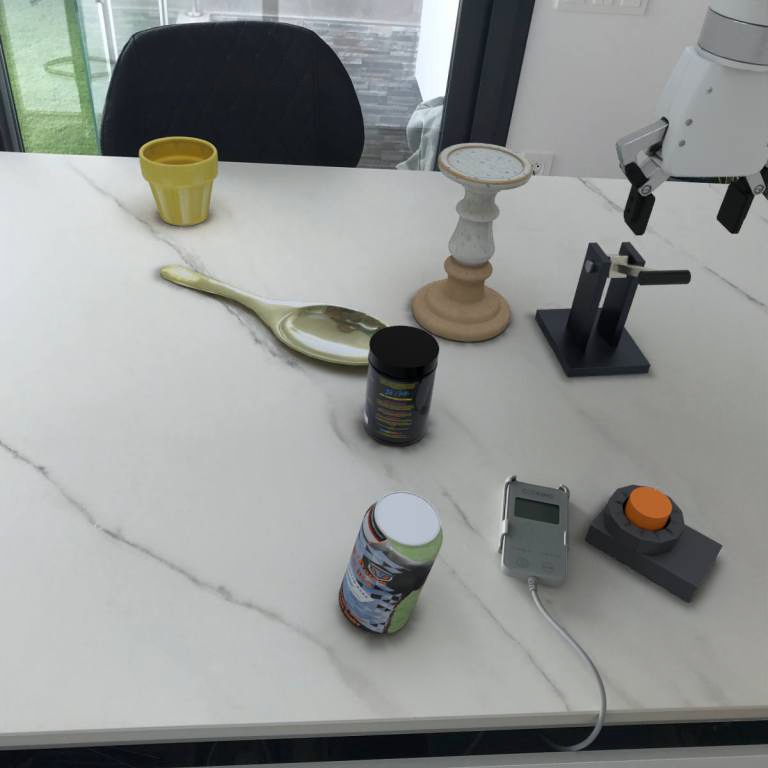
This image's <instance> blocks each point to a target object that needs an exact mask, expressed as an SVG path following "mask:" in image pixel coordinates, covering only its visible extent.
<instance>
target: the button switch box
mask: <svg viewBox="0 0 768 768" xmlns="http://www.w3.org/2000/svg"><path fill="white" fill-rule="evenodd" d="M640 487H646V486H644V485H638V484H630V485H626V486H622V487H618V488H617V489H616V490H614V492H613V493H612V494H611V496H610V497H609V498H608V500H607V503H606V504H605V505H604V507H603V508H602V509H601V511H600V512H599V513H598V514H597V516H596V517H595V518H594V519H593V520H592V522H591V523H590V525H589V527H588V529H587V533H586V535H585V537H584V541H586V542H587V543H589V544H590V545H592V546H594V547H595V548H597V549H599V550H600V551H602V552H604V553H605V554H607V555H609V556H611V557H612V558H614V559H615V560H617V561H619V562H620V563H622V564H624V565H625V566H627V567H629V568H630V569H632V570H634V571H636V573H639V574H640V575H642V576H643V577H645V578H647V579H649V580H650V581H652V582H654V583H655V584H657V585H659V586H660V587H662V588H664V589H665V590H667V591H669V592H670V593H672V594H673V595H674V596H677V597H679V598H680V599H682V600H683V601H685V602H687V603H691V601H692V599H693V598H694V596H695V594H696V593H697V592H698V589H699V588H700V586H701V584H702V583H703V581H704V580H705V578H706V576H707V574H708V572H709V571H710V570H711V568H712V566H713V564H714V563H715V562H716V559H717V557H718V555H719V554H720V552H721V550H722V548H723V544H721V543H720V542H718V541H716V540H714V539H712V538H710V537H709V536H707V535H705V534H703V533H701V532H700V531H698V530H696V529H694V528H692V527H691V526H689V525H687V524H686V523H685V518H684V512H683V511H682V509H681V508H680V507H679V506H678V505H677V504H676V502H675V501H674V500H673V499H672V498H671V497H670V496H669V495H667V494H665V493H663V494H664V495H666V496H667V497H668V499H669V500H670V502H671V505H672V511H671V513H670V515H669V518H668V520H667V522H666V524H665V526H664V527H663V528H662V529H660V530H657V531H648V530H643V529H641V528H639V527H637V526H636V525H634V524H632V523H631V522H630V521H629V520H628V518H627V517H626V514H625V507H626V504H627V502H628V499H629V497H630V494H631V493H632V491H633V490H635V489H637V488H640ZM648 487H649V488H653V489H655V488H654V487H651V486H648Z"/></svg>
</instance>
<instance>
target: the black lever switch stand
mask: <svg viewBox="0 0 768 768" xmlns="http://www.w3.org/2000/svg"><path fill="white" fill-rule="evenodd" d="M606 254H607V253H606V252H605V251H604V250H603V249H602V247H601V246H600V244H599V243H598V242H588V245H587V249H586V252H585V256H584V259H583V262H582V266H581V270H580V274H579V277H578V281H577V284H576V288H575V292H574V297H573V299H572V303H571V307H570V308H545V309H543V308H542V309H536V312H535V315H534V318H535V320H536V322H537V324H538V326H539V327H540V329H541V331H542V333H543V335H544V337H545V339H546V341H547V342H548V344H549V346H550V348H551V349H552V351H553V353H554V355H555V356H556V358H557V361H558V362H559V364H560V366H561V367H562V370H563V371H564V373H565V375H566V377H567V378H575V377H591V376H592V377H593V376H612V375H631V374H632V375H634V374H648V373H649V371H650V368H651V363H650V362H649V360H648V358H647V357H646V356H645V355H644V353H643V351H642V350H641V349H640V347H639V345H638V344H637V343H636V342H635V340H634V339H633V337H632V335H631V334H630V332H629V331H628V329H627V328H626V327H625V325H626V323H627V320H628V316H629V314H630V311H631V309H632V308H631V307H632V305H633V302H634V298H635V295H636V292H637V289H638V286H639V283H638V279H637V278H638V277H634V276H630V275H627V277H626V278H610V279H609V283H608V286H607V290H606V293H605V296H604V299H603V304H602V306H601V307H600V303H601V300H602V297H603V293H604V291H605V288H606V284H607V280H608V278H607V277H608V274H609V270H610V267H611V264H612V262H611V261H610V259H609V258H608V257H607V255H606ZM617 254H620V255H625V256H628V264H632V265H637V266H641V267H646V260H645V259H644V258H643V256H642V255H641V253H639V251H638V250H637V249H636V248H635V246H634V244H633V243H631V242H630V241H622V242H621V244H620V247H619V251H618V253H617Z"/></svg>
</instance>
